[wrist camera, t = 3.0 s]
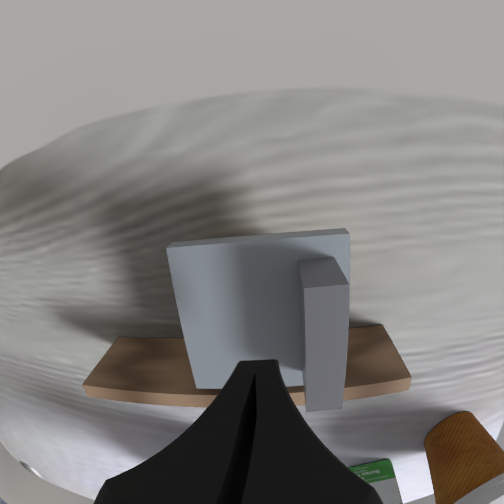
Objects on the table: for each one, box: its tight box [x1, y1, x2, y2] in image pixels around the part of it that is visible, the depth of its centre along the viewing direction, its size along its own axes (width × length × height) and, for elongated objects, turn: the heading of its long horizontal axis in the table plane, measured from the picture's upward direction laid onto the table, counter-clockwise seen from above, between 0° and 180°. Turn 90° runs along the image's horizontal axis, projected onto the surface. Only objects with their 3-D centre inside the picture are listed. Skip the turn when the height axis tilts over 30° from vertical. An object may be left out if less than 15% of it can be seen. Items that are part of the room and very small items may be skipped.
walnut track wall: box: [82, 325, 412, 407], centre depth 19 cm, size 20×1×6 cm, turn 96°
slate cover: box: [166, 228, 350, 412], centre depth 14 cm, size 8×8×4 cm
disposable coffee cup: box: [424, 412, 504, 504], centre depth 19 cm, size 10×10×12 cm
